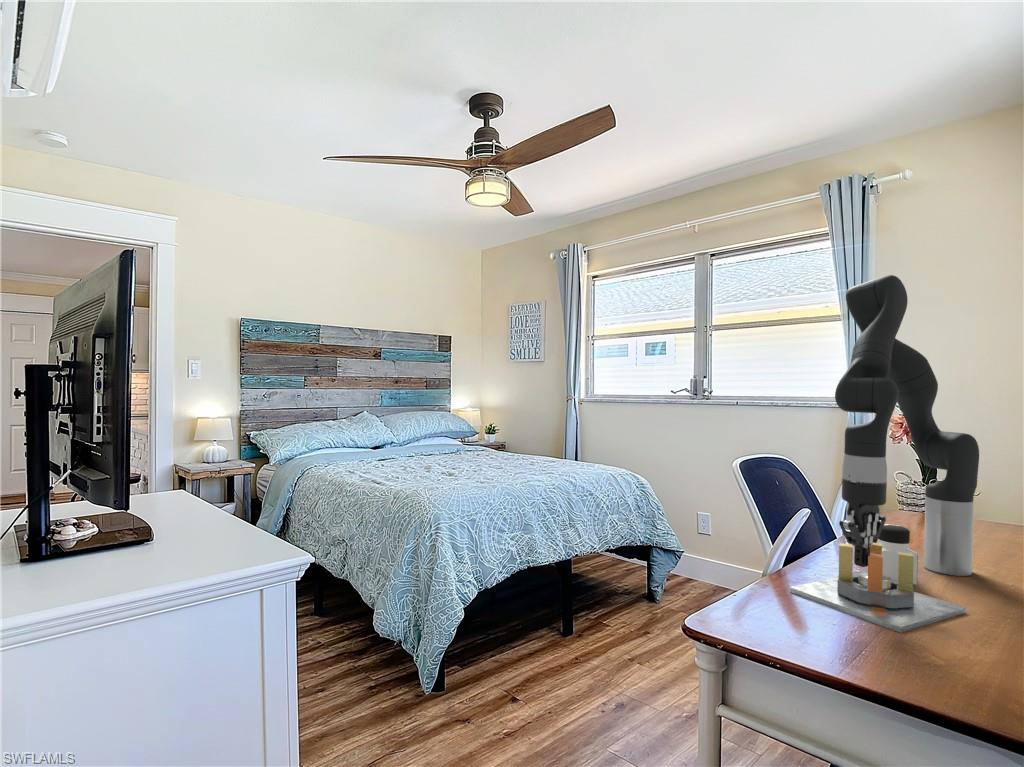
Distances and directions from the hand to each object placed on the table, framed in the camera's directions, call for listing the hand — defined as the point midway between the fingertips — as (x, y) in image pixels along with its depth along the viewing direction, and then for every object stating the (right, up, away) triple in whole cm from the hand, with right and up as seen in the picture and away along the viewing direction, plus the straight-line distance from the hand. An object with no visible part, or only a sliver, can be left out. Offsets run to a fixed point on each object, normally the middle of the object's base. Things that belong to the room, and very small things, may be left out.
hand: (861, 565), depth 114 cm
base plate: (+4, -8, +3) cm, 10 cm away
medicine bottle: (+18, -9, +17) cm, 26 cm away
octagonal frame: (+4, -7, +3) cm, 8 cm away
